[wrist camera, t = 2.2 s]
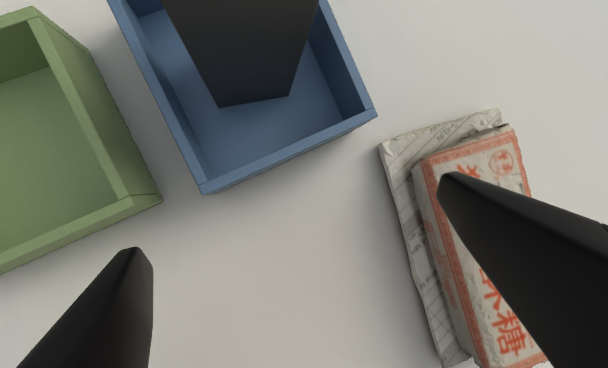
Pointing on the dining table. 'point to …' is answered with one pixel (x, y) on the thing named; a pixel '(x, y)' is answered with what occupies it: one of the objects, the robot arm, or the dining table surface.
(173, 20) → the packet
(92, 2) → the dining table surface
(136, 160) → the green bin
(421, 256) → the packaged product
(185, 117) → the blue bin
